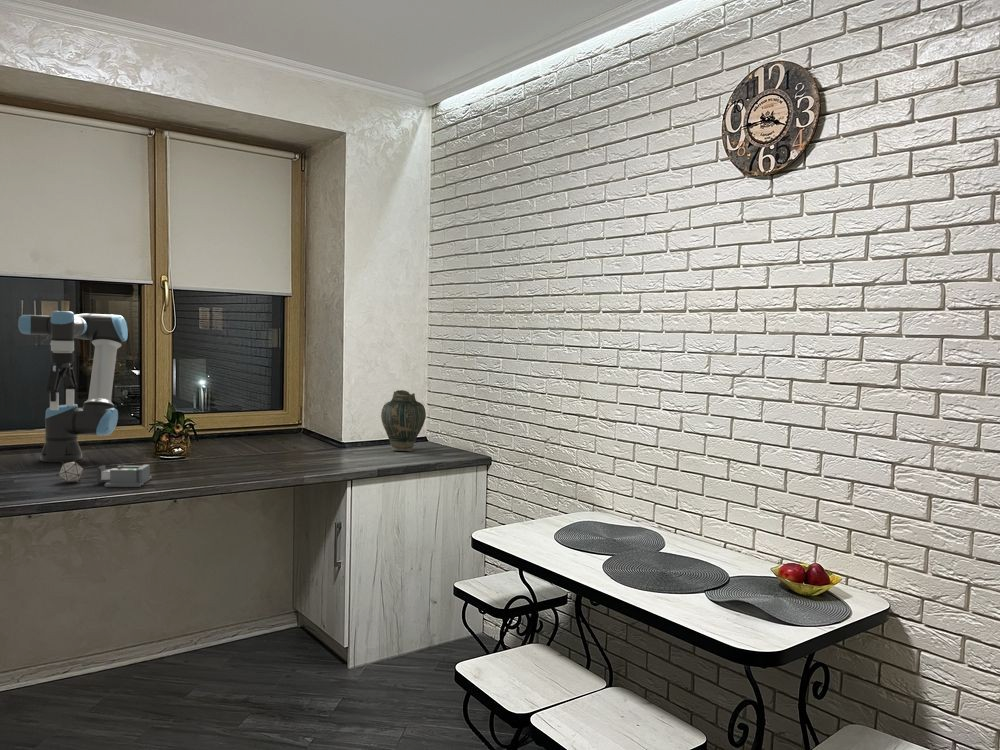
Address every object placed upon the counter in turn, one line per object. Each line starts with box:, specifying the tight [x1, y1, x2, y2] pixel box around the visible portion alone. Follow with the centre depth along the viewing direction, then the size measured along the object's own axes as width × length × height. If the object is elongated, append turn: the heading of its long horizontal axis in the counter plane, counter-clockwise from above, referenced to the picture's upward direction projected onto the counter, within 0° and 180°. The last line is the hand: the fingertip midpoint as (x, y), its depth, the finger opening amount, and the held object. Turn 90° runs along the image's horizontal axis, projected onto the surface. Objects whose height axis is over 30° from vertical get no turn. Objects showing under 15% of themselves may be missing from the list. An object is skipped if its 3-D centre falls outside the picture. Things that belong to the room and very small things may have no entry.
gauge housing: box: [104, 464, 153, 488], centre depth 270 cm, size 14×12×6 cm
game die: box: [55, 460, 87, 485], centre depth 267 cm, size 9×8×10 cm
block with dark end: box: [96, 465, 125, 481], centre depth 268 cm, size 7×9×5 cm
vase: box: [380, 389, 427, 452], centre depth 361 cm, size 22×22×30 cm
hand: (62, 408), depth 273 cm, fingers open, 13 cm apart
